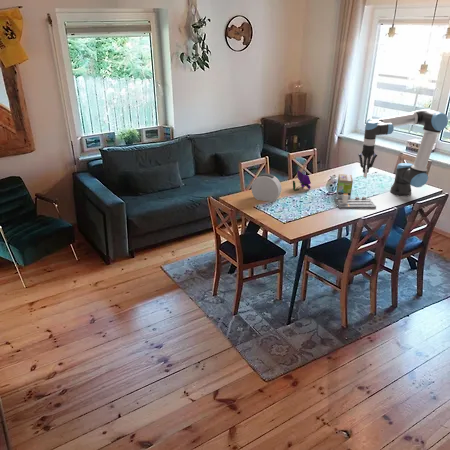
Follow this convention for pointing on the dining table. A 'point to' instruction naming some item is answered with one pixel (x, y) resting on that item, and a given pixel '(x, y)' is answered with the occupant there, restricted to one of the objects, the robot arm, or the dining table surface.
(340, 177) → the tea box
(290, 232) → the dining table surface
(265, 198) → the alarm clock
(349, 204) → the console
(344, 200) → the fader
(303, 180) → the flower
